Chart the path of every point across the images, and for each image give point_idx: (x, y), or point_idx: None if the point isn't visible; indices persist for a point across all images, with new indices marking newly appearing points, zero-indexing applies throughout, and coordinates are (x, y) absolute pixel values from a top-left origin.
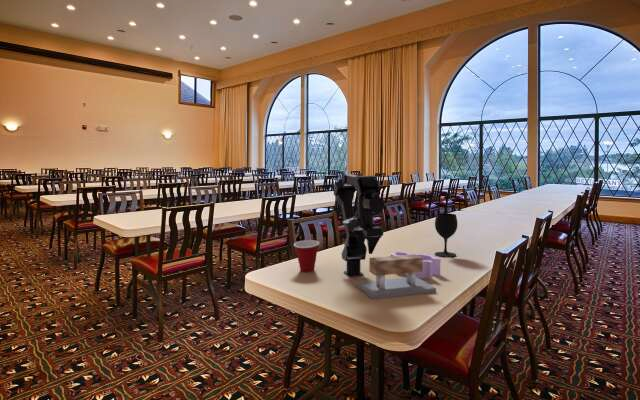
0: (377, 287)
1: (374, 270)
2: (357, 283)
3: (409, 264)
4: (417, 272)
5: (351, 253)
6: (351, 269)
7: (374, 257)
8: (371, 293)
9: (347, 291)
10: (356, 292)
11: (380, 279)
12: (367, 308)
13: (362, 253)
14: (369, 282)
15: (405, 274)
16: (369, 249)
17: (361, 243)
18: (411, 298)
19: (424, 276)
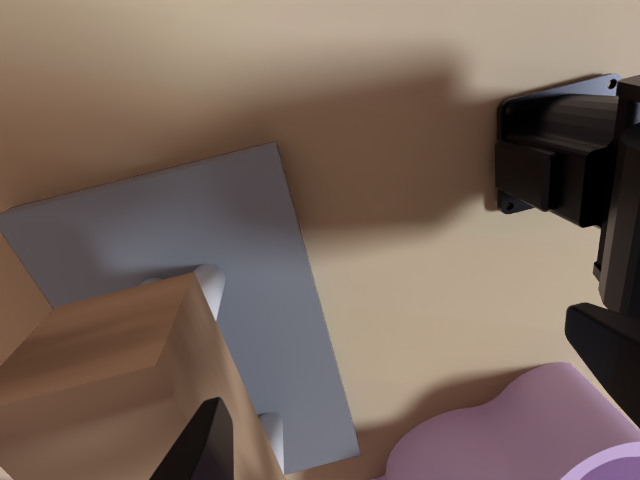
0: (163, 266)
1: (59, 326)
2: (275, 145)
3: None
4: (403, 471)
5: (634, 160)
6: (544, 133)
7: (179, 413)
8: (19, 215)
9: (153, 46)
10: (138, 116)
11: None
12: None
13: (606, 285)
14: (271, 230)
15: (453, 411)
16: (160, 471)
17: (637, 381)
18: None
19: (388, 474)
